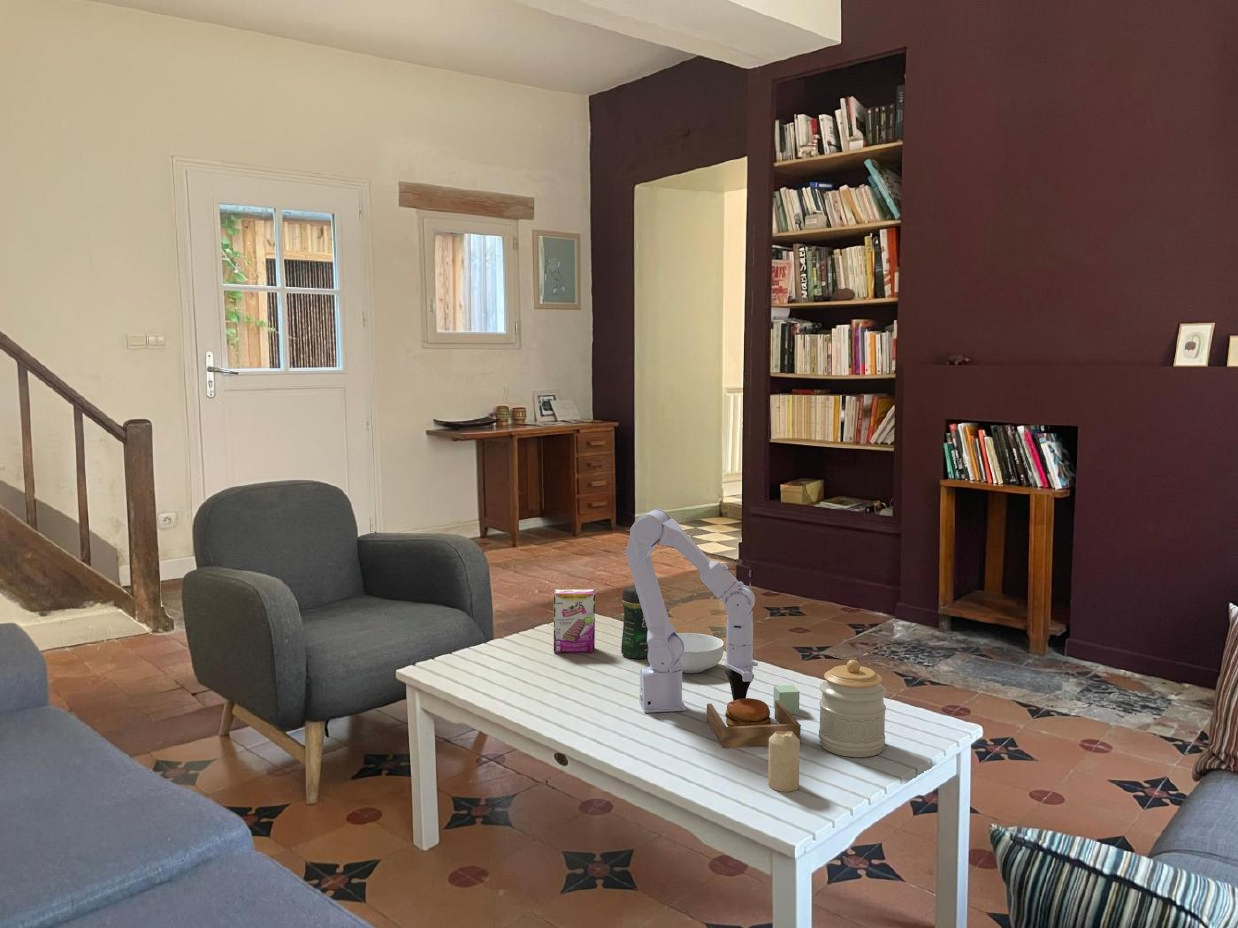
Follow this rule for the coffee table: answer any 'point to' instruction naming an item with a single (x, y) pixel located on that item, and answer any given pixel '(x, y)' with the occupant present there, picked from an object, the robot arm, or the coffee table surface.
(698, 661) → the cereal bowl
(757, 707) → the burger
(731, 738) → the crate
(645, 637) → the coffee jar
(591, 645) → the candy bar box
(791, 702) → the pale green cube
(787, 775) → the candle
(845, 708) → the jar
